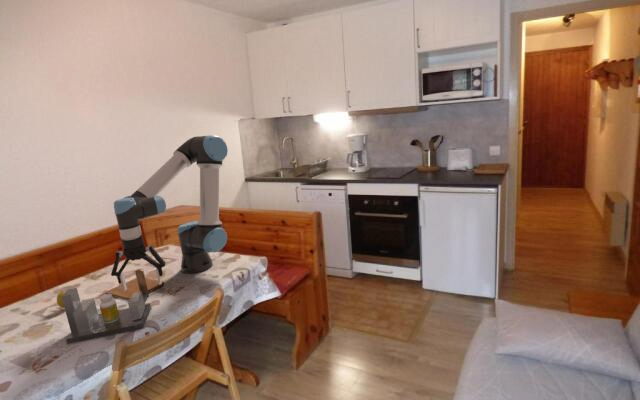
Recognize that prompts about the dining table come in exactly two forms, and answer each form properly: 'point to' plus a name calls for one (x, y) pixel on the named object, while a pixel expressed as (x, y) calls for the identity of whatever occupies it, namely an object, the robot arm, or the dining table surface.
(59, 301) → the lemon
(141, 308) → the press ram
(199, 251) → the robot arm
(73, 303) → the grey frame
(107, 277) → the dining table surface
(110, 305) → the supplement bottle
